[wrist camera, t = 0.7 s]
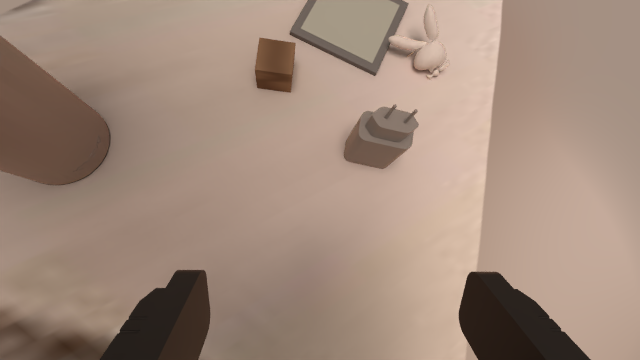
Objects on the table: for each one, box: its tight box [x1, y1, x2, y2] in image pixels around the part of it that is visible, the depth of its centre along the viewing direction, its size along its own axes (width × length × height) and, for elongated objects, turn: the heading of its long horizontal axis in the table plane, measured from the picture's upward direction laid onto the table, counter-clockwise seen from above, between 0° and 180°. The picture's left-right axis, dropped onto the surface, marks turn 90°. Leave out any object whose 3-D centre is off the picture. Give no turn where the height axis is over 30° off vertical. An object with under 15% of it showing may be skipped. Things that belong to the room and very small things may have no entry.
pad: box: [290, 0, 408, 76], centre depth 42 cm, size 12×12×1 cm
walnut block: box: [255, 38, 295, 92], centre depth 37 cm, size 4×4×4 cm
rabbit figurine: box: [388, 5, 449, 80], centre depth 40 cm, size 6×4×8 cm
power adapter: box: [344, 105, 419, 169], centre depth 32 cm, size 3×5×12 cm, turn 80°
